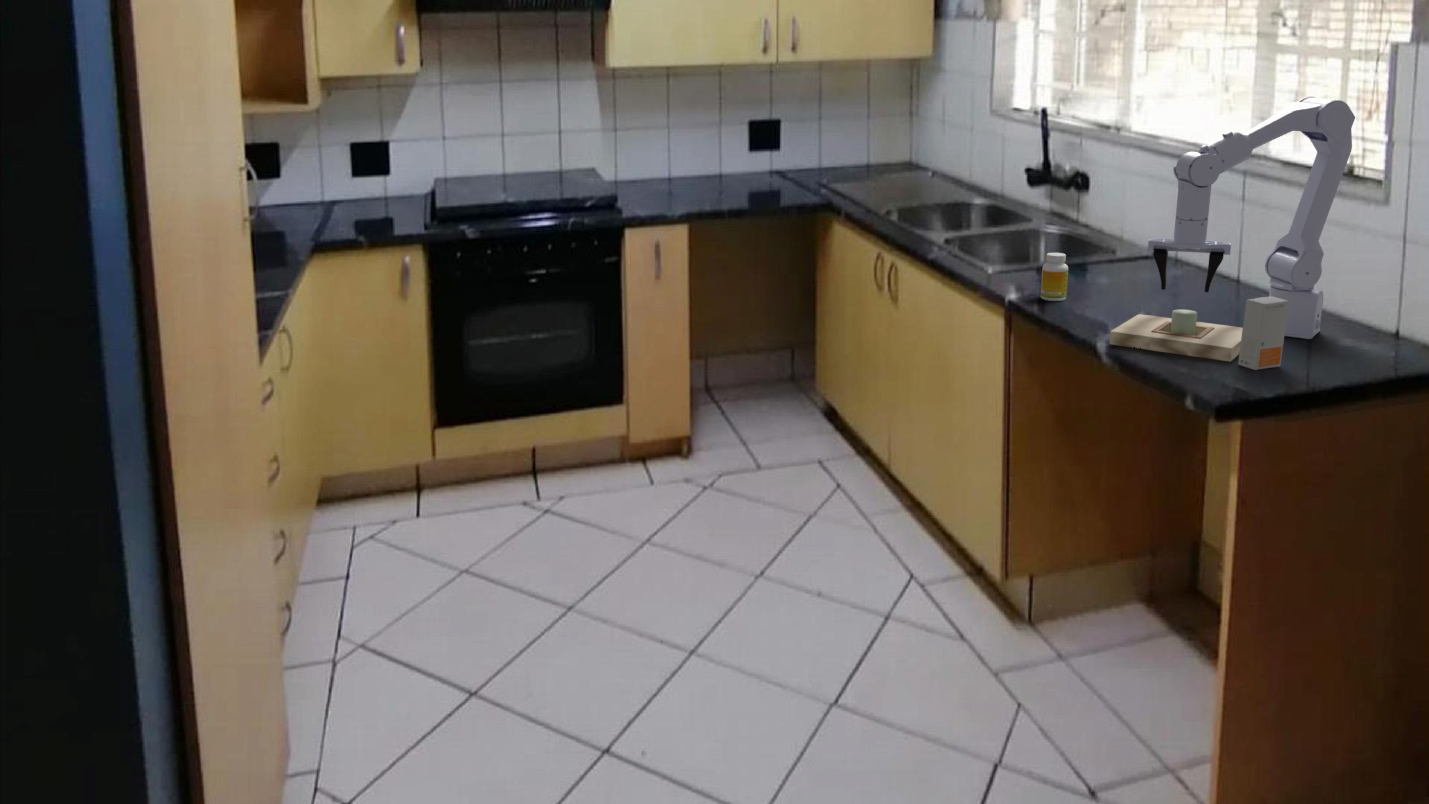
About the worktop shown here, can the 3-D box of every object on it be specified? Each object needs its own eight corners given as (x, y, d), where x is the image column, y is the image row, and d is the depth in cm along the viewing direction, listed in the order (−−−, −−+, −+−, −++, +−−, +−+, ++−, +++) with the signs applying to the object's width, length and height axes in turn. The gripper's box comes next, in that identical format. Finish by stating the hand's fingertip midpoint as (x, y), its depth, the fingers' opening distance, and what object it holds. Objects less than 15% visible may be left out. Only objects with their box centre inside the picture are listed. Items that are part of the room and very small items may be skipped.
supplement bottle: (1067, 301, 278) (1070, 256, 275) (1041, 301, 279) (1044, 256, 276) (1065, 296, 283) (1068, 252, 280) (1039, 295, 284) (1042, 251, 281)
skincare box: (1255, 371, 226) (1263, 304, 223) (1237, 365, 230) (1244, 299, 227) (1282, 366, 229) (1290, 300, 225) (1263, 361, 233) (1271, 295, 229)
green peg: (1192, 340, 246) (1195, 309, 244) (1195, 346, 242) (1198, 315, 240) (1167, 339, 247) (1170, 309, 245) (1170, 345, 243) (1173, 314, 241)
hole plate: (1253, 342, 245) (1255, 328, 244) (1230, 361, 232) (1231, 347, 231) (1137, 326, 257) (1138, 313, 256) (1109, 344, 245) (1110, 330, 244)
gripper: (1233, 216, 242) (1226, 287, 247) (1152, 213, 247) (1146, 283, 252) (1233, 222, 236) (1225, 295, 240) (1149, 219, 241) (1143, 290, 245)
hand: (1184, 289), depth 246 cm, fingers open, 7 cm apart
